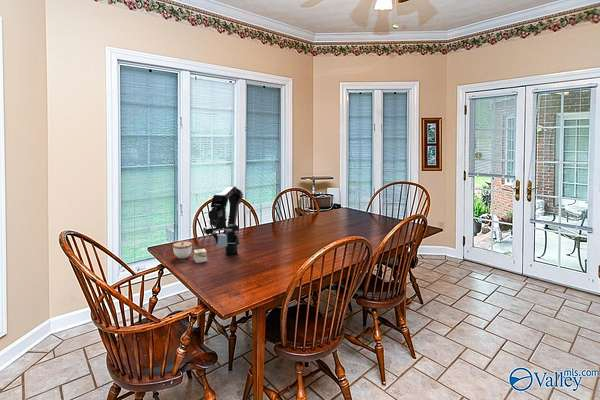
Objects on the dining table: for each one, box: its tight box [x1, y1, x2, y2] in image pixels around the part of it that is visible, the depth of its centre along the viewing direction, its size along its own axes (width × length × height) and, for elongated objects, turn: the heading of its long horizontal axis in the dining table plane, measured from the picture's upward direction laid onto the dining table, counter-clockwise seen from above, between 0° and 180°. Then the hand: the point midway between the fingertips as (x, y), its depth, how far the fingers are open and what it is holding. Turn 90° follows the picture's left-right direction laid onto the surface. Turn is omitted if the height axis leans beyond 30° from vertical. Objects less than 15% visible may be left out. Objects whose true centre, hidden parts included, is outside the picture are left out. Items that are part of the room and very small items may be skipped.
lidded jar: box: [172, 241, 193, 259], centre depth 212 cm, size 11×11×9 cm
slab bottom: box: [193, 255, 208, 264], centre depth 207 cm, size 6×6×3 cm
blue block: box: [215, 233, 227, 248], centre depth 202 cm, size 5×5×6 cm
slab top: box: [193, 248, 208, 258], centre depth 207 cm, size 6×6×3 cm
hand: (221, 243), depth 203 cm, fingers closed on blue block, 5 cm apart
